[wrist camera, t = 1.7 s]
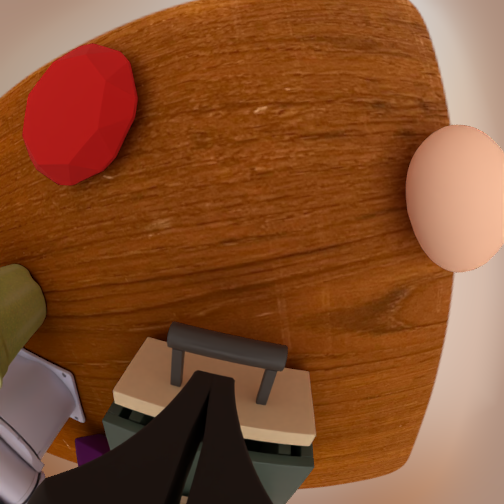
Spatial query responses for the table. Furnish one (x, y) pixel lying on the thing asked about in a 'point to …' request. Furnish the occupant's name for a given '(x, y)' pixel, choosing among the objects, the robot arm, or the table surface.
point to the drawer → (231, 365)
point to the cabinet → (266, 465)
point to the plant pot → (18, 312)
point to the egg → (457, 197)
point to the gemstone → (80, 113)
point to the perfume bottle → (91, 448)
